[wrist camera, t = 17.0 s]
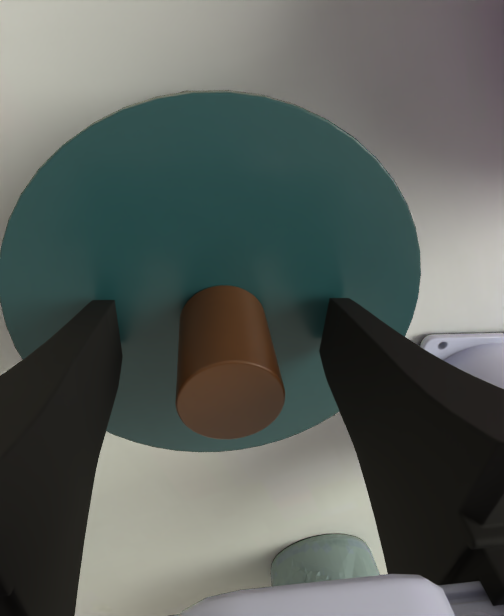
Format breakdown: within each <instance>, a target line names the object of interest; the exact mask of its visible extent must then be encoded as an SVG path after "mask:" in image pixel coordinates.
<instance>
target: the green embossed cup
mask: <svg viewBox="0 0 504 616" xmlns="http://www.w3.org/2000/svg"><path fill="white" fill-rule="evenodd" d="M377 575H380V573H379V571H378V568H377V566H376V563H375V561H374V558H373V556H372V553H371V551H370V549H369V548H368V546H367V545H366V543H365V542H364V541H363V540H361V539H359V538H357V537H354V536H350V535H344V534H328V535H320V536H315V537H311V538H308V539H305V540H302V541H299V542H297V543H295V544H293V545H291V546H289V547H287V548H286V549H284V550H283V551H282V552H281V553H279V554H278V555H277V556H276V558H275V559H274V561H273V563H272V566H271V583H272V587H273V586H282V585H292V584H301V583H311V582H320V581H329V580H339V579H348V578H358V577H367V576H377Z"/></svg>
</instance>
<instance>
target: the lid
mask: <svg viewBox="0 0 504 616" xmlns="http://www.w3.org/2000/svg"><path fill="white" fill-rule="evenodd" d="M420 276H421V269H420V249H419V243H418V238H417V233H416V227H415V225H414V222H413V219H412V216H411V213H410V211H409V208H408V205H407V203H406V201H405V199H404V197H403V195H402V194H401V192H400V190H399V188H398V186H397V185H396V183H395V181H394V179H393V178H392V177H391V176H390V174H389V173H388V172H387V171H386V169H385V168H384V167H383V165H382V164H381V163H380V162H379V160H378V159H377V158H376V157H375V156H374V155H373V154H372V153H371V152H370V151H368V150H367V149H366V148H365V147H364V146H363V145H362V144H361V143H360V142H359V141H358V140H357V139H355V138H354V137H353V136H351V135H350V134H348V133H347V132H345V131H344V130H342V129H341V128H339V127H338V126H336V125H335V124H333V123H332V122H330V121H329V120H327V119H325V118H323V117H321V116H319V115H317V114H315V113H312V112H310V111H308V110H306V109H304V108H302V107H300V106H297V105H295V104H292V103H288V102H285V101H282V100H278V99H275V98H271V97H268V96H264V95H259V94H252V93H244V92H237V91H230V90H216V91H189V92H183V93H176V94H170V95H164V96H158V97H155V98H152V99H149V100H146V101H142V102H139V103H136V104H133V105H130V106H127V107H124V108H122V109H120V110H118V111H116V112H114V113H112V114H110V115H108V116H106V117H104V118H102V119H100V120H98V121H96V122H94V123H93V124H91V125H90V126H88V127H87V128H86V129H84V130H83V131H81V132H80V133H79V134H77V135H76V136H75V137H73V138H72V139H70V140H69V141H68V142H66V143H65V144H64V145H62V146H61V147H60V148H59V149H58V150H57V151H56V152H55V153H54V154H53V155H52V156H51V157H50V158H49V159H48V160H47V161H46V162H45V163H44V164H43V165H42V166H41V167H40V168H39V169H38V171H37V172H36V174H35V175H34V177H33V178H32V179H31V181H30V182H29V184H28V185H27V186H26V188H25V189H24V191H23V192H22V193H21V195H20V197H19V199H18V201H17V204H16V206H15V208H14V210H13V212H12V214H11V216H10V218H9V220H8V223H7V227H6V231H5V234H4V238H3V241H2V245H1V250H0V302H1V307H2V311H3V315H4V319H5V323H6V326H7V329H8V331H9V333H10V336H11V338H12V341H13V343H14V346H15V348H16V349H17V351H18V353H19V354H20V356H21V358H22V359H25V358H26V357H27V356H28V355H30V354H31V353H32V352H33V351H35V350H36V349H37V348H39V347H40V346H41V345H42V344H44V343H45V342H46V341H47V340H49V339H50V338H51V337H52V336H53V335H54V334H55V333H57V332H58V331H59V330H60V329H61V328H62V327H63V326H64V325H66V324H67V323H68V322H69V321H70V320H71V319H72V318H73V317H74V316H75V315H76V314H78V313H79V312H80V311H81V310H82V309H83V308H84V307H85V306H86V305H87V304H88V303H90V302H91V301H92V300H115V306H116V313H117V320H118V327H119V334H120V341H121V348H122V355H123V358H122V365H121V373H120V380H119V386H118V390H117V394H116V397H115V401H114V405H113V408H112V412H111V415H110V419H109V422H108V426H107V429H106V431H107V432H109V433H111V434H114V435H116V436H119V437H122V438H125V439H127V440H130V441H133V442H136V443H140V444H144V445H148V446H152V447H157V448H163V449H169V450H176V451H189V452H221V451H231V450H240V449H246V448H251V447H256V446H261V445H265V444H268V443H272V442H276V441H279V440H282V439H285V438H288V437H290V436H293V435H296V434H298V433H301V432H303V431H305V430H307V429H309V428H311V427H313V426H316V425H318V424H319V423H321V422H323V421H324V420H326V419H328V418H330V417H331V416H333V415H335V414H336V413H338V412H339V409H338V406H337V404H336V402H335V399H334V397H333V394H332V392H331V390H330V387H329V385H328V382H327V380H326V376H325V373H324V369H323V365H322V361H321V357H320V353H319V349H320V344H321V339H322V334H323V329H324V324H325V319H326V313H327V308H328V303H329V298H350V299H351V300H353V301H355V302H356V303H358V304H359V305H361V306H362V307H363V308H365V309H366V310H368V311H369V312H370V313H372V314H373V315H375V316H376V317H377V318H379V319H380V320H381V321H383V322H384V323H386V324H387V325H388V326H390V327H391V328H393V329H394V330H395V331H397V332H398V333H400V334H401V335H403V336H404V337H405V335H406V333H407V330H408V328H409V325H410V323H411V320H412V318H413V314H414V310H415V307H416V303H417V299H418V293H419V285H420Z"/></svg>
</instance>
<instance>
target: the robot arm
mask: <svg viewBox="0 0 504 616" xmlns="http://www.w3.org/2000/svg"><path fill="white" fill-rule="evenodd" d="M441 342H442V343H441ZM439 343H441V344H439ZM438 344H439V345H438ZM319 353H320V357H321V361H322V365H323V369H324V373H325V376H326V380H327V382H328V385H329V387H330V390H331V392H332V394H333V397H334V399H335V402H336V404H337V406H338V409H339V411H340V414H341V416H342V418H343V421H344V423H345V425H346V428H347V430H348V433H349V435H350V437H351V440H352V442H353V445H354V448H355V451H356V453H357V457H358V460H359V463H360V467H361V470H362V473H363V477H364V480H365V484H366V487H367V491H368V495H369V498H370V502H371V506H372V509H373V513H374V517H375V521H376V525H377V529H378V533H379V537H380V541H381V545H382V550H383V554H384V558H385V563H386V567H387V572H388V574H386V575H377V576H367V577H358V578H348V579H339V580H329V581H320V582H311V583H301V584H292V585H282V586H273V587H263V588H254V589H244V590H238V591H233V592H229V593H224V594H220V595H216V596H211V597H207V598H205V599H203V600H201V601H199V602H197V603H196V604H194V605H192V606H190V607H188V608H187V609H185V610H183V611H182V612H181V613H180V614H179V615H170V616H504V333H469V334H432V335H428V336H426V337H425V338H424V339H423V340H422V342H421V345H420V346H418V345H417V344H415V343H413V342H412V341H410V340H409V339H407V338H406V337H404V336H403V335H401V334H400V333H398V332H397V331H395V330H394V329H393V328H391V327H390V326H388V325H387V324H386V323H384V322H383V321H381V320H380V319H379V318H377V317H376V316H375V315H373V314H372V313H370V312H369V311H368V310H366V309H365V308H363V307H362V306H361V305H359V304H358V303H356V302H355V301H353V300H351V299H350V298H329V303H328V308H327V313H326V319H325V324H324V329H323V334H322V339H321V344H320V349H319ZM122 358H123V355H122V348H121V341H120V334H119V327H118V320H117V313H116V306H115V300H92V301H91V302H90V303H88V304H87V305H86V306H85V307H84V308H83V309H82V310H81V311H80V312H79V313H78V314H76V315H75V316H74V317H73V318H72V319H71V320H70V321H69V322H68V323H67V324H66V325H64V326H63V327H62V328H61V329H60V330H59V331H58V332H57V333H55V334H54V335H53V336H52V337H51V338H50V339H49V340H47V341H46V342H45V343H44V344H42V345H41V346H40V347H39V348H37V349H36V350H35V351H33V352H32V353H31V354H30V355H28V356H27V357H26V358H25V359H23V360H22V361H21V362H19V363H18V364H17V365H15V366H14V367H12V368H11V369H10V370H8V371H7V372H5V373H4V374H2V375H1V376H0V616H74V615H75V607H76V598H77V590H78V582H79V575H80V568H81V561H82V553H83V546H84V539H85V533H86V526H87V520H88V513H89V507H90V501H91V495H92V489H93V483H94V477H95V471H96V467H97V462H98V458H99V454H100V450H101V447H102V443H103V440H104V436H105V433H106V429H107V426H108V422H109V419H110V415H111V412H112V408H113V405H114V401H115V397H116V394H117V390H118V386H119V380H120V373H121V365H122Z"/></svg>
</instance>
